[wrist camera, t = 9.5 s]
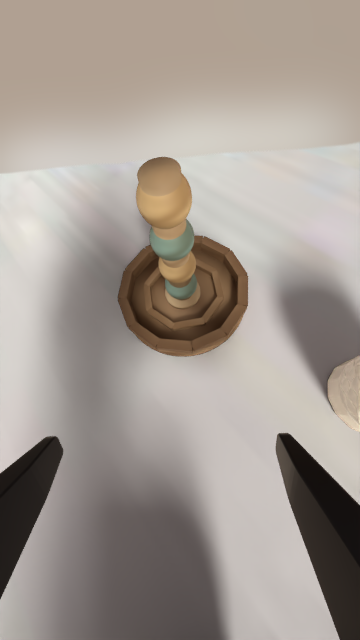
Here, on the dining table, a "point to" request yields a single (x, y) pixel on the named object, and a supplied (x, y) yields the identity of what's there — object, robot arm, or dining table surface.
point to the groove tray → (195, 322)
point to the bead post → (170, 227)
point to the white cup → (346, 392)
